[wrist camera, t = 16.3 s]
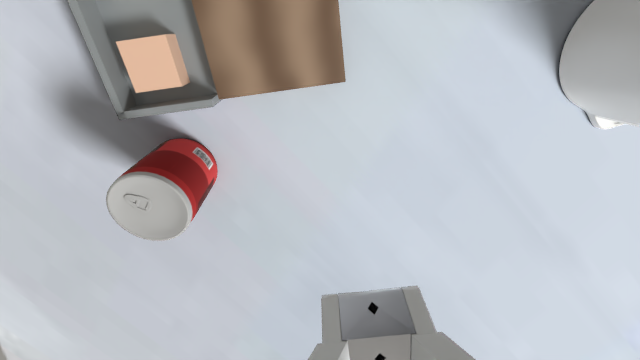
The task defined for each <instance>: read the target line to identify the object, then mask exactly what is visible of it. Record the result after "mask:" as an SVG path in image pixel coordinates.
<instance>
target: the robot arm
mask: <svg viewBox="0 0 640 360" xmlns="http://www.w3.org/2000/svg"><path fill="white" fill-rule="evenodd" d="M559 76H560V82H561V86H562V89H563V91H564V93H565V95H566V96H567V98H568V99H569V100H570V101H571V102H572V103H573V104H575V105H576V106H578V107H580V108H581V109H583V110H584V111H585V112H586V113H587V115H588V117H589V119H590V121H591V123H592V125H593V126H594V127H596V128H600V129H610V128H613V127H617V126H620V125H623V124H628V125H632V126H637V127H640V0H594V1H593V2H592V3H591V4H590V5H589V6H588V7H587V8H586V10H585V11H584V12H583V13H582V15H581V16H580V17H579V19H578V20H577V21H576V23H575V24H574V26H573V28H572V29H571V31H570V33H569V35H568V37H567V40H566V42H565V44H564V47H563V50H562V54H561V59H560V66H559ZM321 306H322V343H320V344H317V345H316V347H315V349H314V350H313V352H312V354H311V355H310V357H309V358H308V360H476V359H474V358H473V357H472V356H471V355H469V354H468V353H467V352H466V351H465V350H463V349H462V348H461V347H460V346H459V345H457V344H456V343H455V342H454V341H452V340H451V339H450V338H449V337H448V336H446V335H445V334H444V333H443V332H437V331H436V329H435V326H434V324H433V321H432V319H431V316H430V314H429V311H428V309H427V306H426V304H425V301H424V299H423V296H422V294H421V291H420V289H419V287H418V286H408V287H401V288H400V287H397V288H388V289H380V290H371V291H365V292H351V293H338V294H328V295H322V299H321Z"/></svg>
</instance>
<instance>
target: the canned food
mask: <svg viewBox="0 0 640 360" xmlns="http://www.w3.org/2000/svg"><path fill="white" fill-rule="evenodd" d="M216 178H217V164H216V161H215V159H214V157H213V155H212V154H211V153H210V151H209V150H208V149H207V148H205V147H204V146H203V145H201V144H200V143H198V142H196V141H193V140H189V139H181V138H179V139H172V140H168V141H165V142H164V143H162V144H161V145H159V146H158V147H157V148H156V149H154V150H153V151H152V152H150V153H149V154H148V155H147V156H145V157H144V158H143V159H141V160H140V161H139V162H138V163H136V164H135V165H134V166H132V167H131V168H130V169H129V170H127V171H126V172H125V173H123V174H122V175H121V176H120V177H119V178H118V179H117V180H116V181H115V182H114V183H113V184H112V185H111V186H110V188H109V190H108V192H107V197H106V202H107V207H108V210H109V212H110V214H111V216H112V218H113V219H114V220H115V221H116V222H117V224H118V225H120V226H121V227H122V228H123V229H124V230H126V231H128V232H129V233H131V234H133V235H135V236H137V237H140V238H143V239H147V240H152V241H164V240H170V239H173V238H175V237H177V236H179V235H181V234H182V233H183V232H184V231H185V229H187V227H188V226H189V224H190V223H191V221H192V220H193V218H194V217H195V215H196V213H197V212H198V210H199V208H200V206H201V205H202V203H203V201H204V200H205V198H206V196H207V195H208V193H209V191H210V190H211V188H212V186H213V185H214V183H215V181H216Z"/></svg>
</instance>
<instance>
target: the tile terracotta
mask: <svg viewBox="0 0 640 360" xmlns="http://www.w3.org/2000/svg"><path fill="white" fill-rule="evenodd" d="M116 44H117V46H118V49H119V51H120V54H121V56H122V59H123V61H124V64H125V66H126V69H127V72H128V74H129V77H130V79H131V82H132V84H133V87H134V89H135V92H136V93H139V92H146V91H153V90H160V89H167V88H174V87H181V86H184V85H186V84H188V83H190V80H189V77H188V74H187V70H186V67H185V64H184V61H183V58H182V54H181V51H180V48H179V45H178V42H177V38H176V35H175V34H164V35H158V36H151V37H144V38H137V39H131V40H124V41H117V42H116Z"/></svg>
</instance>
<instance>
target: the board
mask: <svg viewBox="0 0 640 360" xmlns="http://www.w3.org/2000/svg"><path fill="white" fill-rule="evenodd" d="M191 1H192V4H193V8H194V11H195V15H196V19H197V22H198V26H199V30H200V33H201V37H202V40H203V44H204V48H205V51H206V55H207V58H208V62H209V66H210V69H211V73H212V76H213V80H214V84H215V87H216V91H217V95H218V98H219V99H226V98H234V97H241V96H248V95H255V94H262V93H269V92H276V91H283V90H290V89H297V88H304V87H312V86H319V85H326V84H333V83H340V82H345V71H344V60H343V48H342V37H341V26H340V15H339V4H338V0H191Z"/></svg>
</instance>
